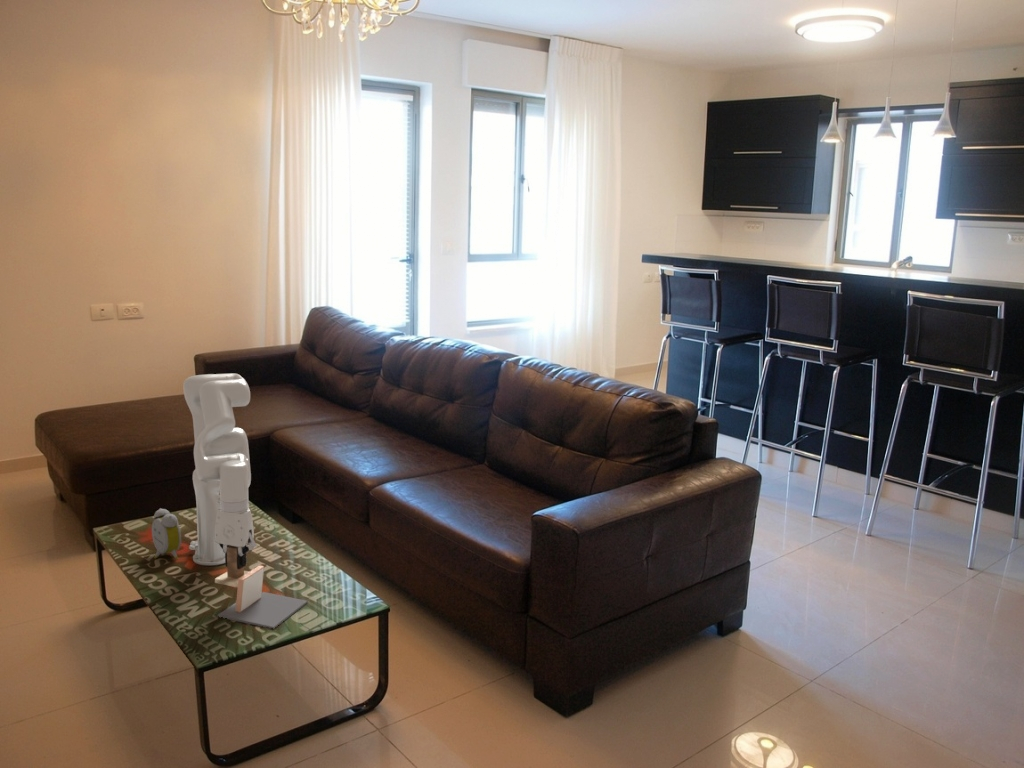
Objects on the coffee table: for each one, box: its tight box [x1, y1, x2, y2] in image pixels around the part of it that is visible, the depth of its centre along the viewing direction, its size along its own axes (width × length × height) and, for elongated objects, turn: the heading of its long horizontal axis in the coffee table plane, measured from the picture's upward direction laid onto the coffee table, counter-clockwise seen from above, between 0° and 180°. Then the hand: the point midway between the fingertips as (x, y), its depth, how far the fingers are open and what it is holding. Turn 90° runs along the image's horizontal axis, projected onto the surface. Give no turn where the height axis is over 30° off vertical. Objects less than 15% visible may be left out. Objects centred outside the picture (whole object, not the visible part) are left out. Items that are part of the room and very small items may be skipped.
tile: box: [235, 564, 265, 612], centre depth 235 cm, size 2×10×10 cm, turn 163°
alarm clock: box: [151, 507, 182, 560], centre depth 266 cm, size 12×7×15 cm, turn 44°
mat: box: [217, 591, 309, 630], centre depth 235 cm, size 18×17×1 cm
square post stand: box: [214, 546, 250, 588], centre depth 235 cm, size 8×8×10 cm
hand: (235, 565), depth 235 cm, fingers closed on square post stand, 3 cm apart
